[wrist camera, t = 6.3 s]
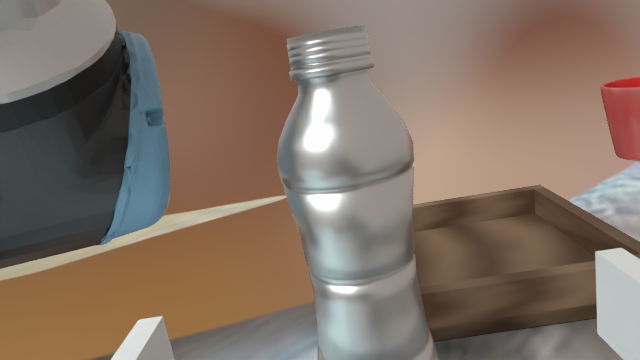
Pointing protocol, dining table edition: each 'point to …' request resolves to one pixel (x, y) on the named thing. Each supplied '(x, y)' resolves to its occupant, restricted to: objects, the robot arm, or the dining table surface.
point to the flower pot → (623, 115)
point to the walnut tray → (508, 261)
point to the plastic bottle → (353, 202)
